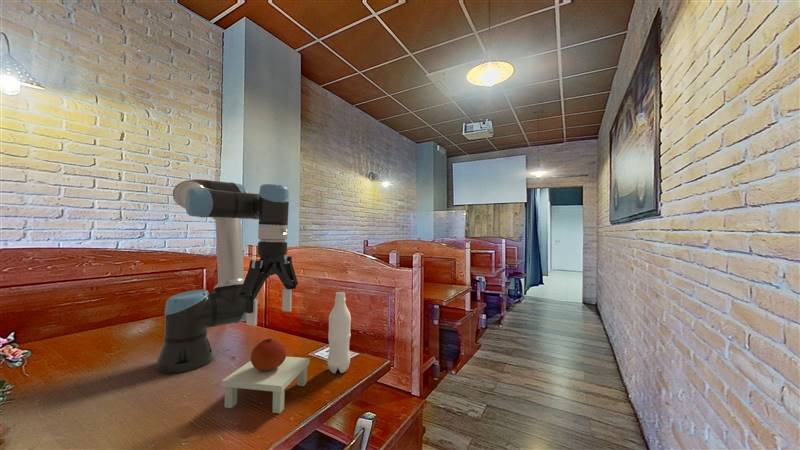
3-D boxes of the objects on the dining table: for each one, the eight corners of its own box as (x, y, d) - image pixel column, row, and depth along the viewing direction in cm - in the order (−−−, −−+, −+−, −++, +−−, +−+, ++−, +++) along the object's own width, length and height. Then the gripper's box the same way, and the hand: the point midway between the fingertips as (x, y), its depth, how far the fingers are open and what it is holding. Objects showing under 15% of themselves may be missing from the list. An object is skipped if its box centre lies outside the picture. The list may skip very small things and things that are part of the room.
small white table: (221, 408, 76) (222, 380, 76) (259, 377, 91) (259, 354, 91) (280, 414, 73) (281, 386, 74) (308, 382, 89) (309, 358, 89)
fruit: (264, 379, 76) (264, 348, 76) (244, 370, 81) (244, 340, 81) (293, 366, 84) (293, 338, 84) (273, 358, 89) (273, 331, 89)
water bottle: (344, 376, 93) (346, 295, 93) (323, 373, 94) (325, 294, 95) (352, 366, 100) (354, 291, 100) (332, 364, 101) (334, 290, 102)
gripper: (248, 243, 70) (245, 334, 70) (310, 239, 94) (308, 307, 94) (223, 241, 72) (220, 330, 72) (290, 238, 96) (288, 305, 96)
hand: (270, 317), depth 83 cm, fingers open, 13 cm apart
